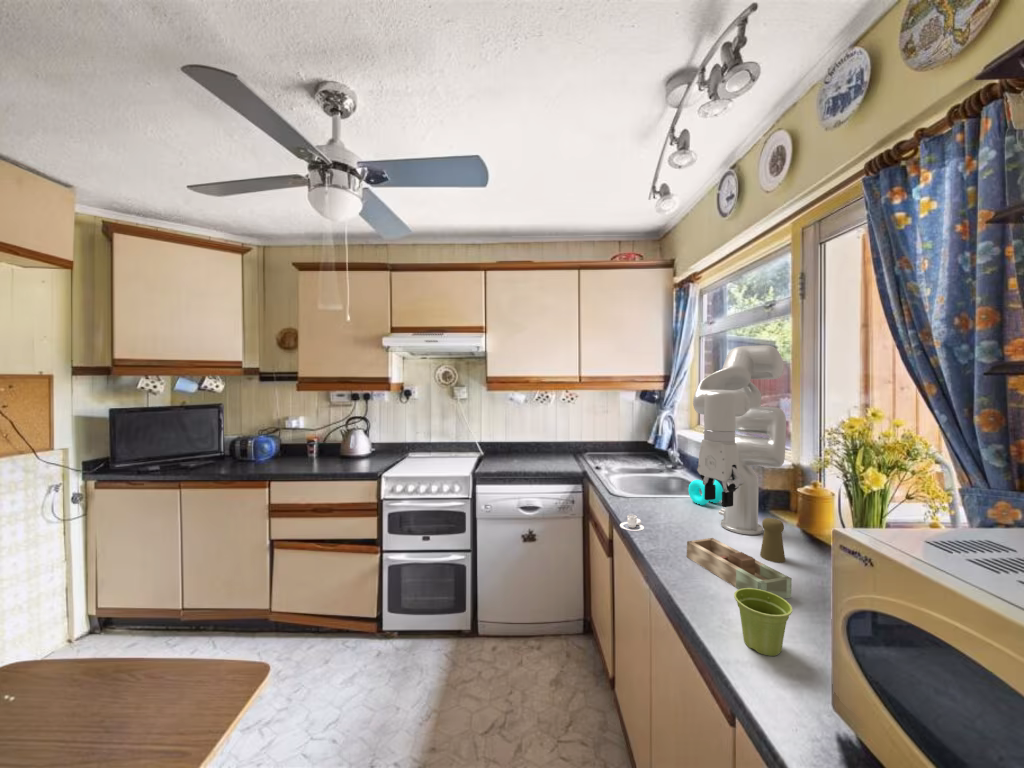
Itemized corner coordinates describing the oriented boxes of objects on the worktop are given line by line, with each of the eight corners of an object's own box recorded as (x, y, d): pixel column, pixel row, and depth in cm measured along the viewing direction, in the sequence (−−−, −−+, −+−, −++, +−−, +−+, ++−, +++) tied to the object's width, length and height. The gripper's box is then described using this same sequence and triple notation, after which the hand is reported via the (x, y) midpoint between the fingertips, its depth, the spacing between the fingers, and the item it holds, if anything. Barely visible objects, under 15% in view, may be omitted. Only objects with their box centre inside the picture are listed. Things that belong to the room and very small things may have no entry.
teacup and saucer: (635, 521, 141) (635, 510, 141) (650, 529, 134) (651, 517, 134) (615, 525, 138) (615, 513, 138) (630, 533, 130) (630, 521, 130)
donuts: (725, 505, 158) (725, 481, 158) (706, 508, 154) (706, 483, 154) (704, 498, 167) (704, 475, 167) (686, 501, 164) (686, 477, 163)
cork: (761, 551, 117) (762, 514, 116) (786, 556, 113) (786, 518, 113) (758, 558, 112) (759, 519, 112) (784, 564, 108) (784, 525, 108)
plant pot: (744, 659, 72) (745, 612, 72) (726, 627, 81) (727, 585, 81) (802, 666, 70) (803, 618, 70) (776, 632, 79) (777, 590, 79)
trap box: (686, 556, 113) (687, 541, 112) (712, 553, 115) (712, 537, 115) (761, 603, 90) (761, 583, 89) (791, 597, 92) (791, 578, 92)
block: (729, 569, 101) (729, 553, 101) (741, 567, 102) (741, 552, 102) (742, 576, 97) (742, 560, 97) (754, 574, 99) (754, 558, 99)
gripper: (685, 432, 114) (684, 494, 114) (734, 442, 98) (733, 514, 98) (706, 431, 116) (706, 492, 116) (757, 441, 100) (756, 511, 100)
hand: (718, 502), depth 107 cm, fingers open, 5 cm apart
